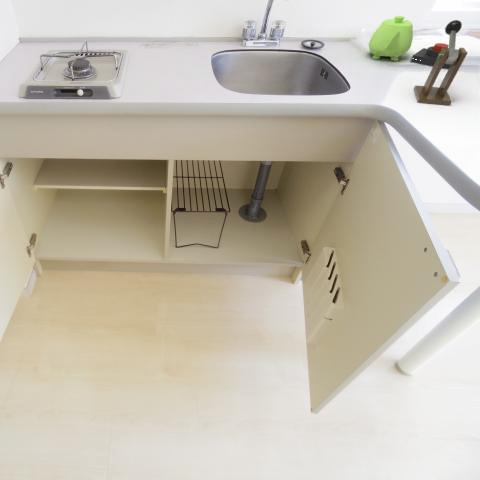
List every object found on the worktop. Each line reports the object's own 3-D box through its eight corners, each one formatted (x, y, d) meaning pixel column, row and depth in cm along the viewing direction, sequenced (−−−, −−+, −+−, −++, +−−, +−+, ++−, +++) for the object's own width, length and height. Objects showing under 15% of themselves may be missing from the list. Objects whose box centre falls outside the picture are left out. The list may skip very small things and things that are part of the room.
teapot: (406, 67, 119) (424, 25, 110) (364, 63, 124) (378, 22, 115) (404, 49, 132) (420, 10, 123) (366, 46, 136) (378, 8, 127)
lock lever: (442, 28, 100) (449, 16, 97) (457, 29, 99) (465, 17, 96) (439, 65, 96) (446, 54, 93) (454, 66, 95) (462, 55, 92)
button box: (457, 61, 121) (464, 48, 118) (448, 69, 116) (455, 56, 113) (420, 54, 127) (425, 42, 124) (410, 61, 122) (415, 49, 120)
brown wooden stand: (413, 89, 106) (434, 43, 97) (443, 91, 104) (468, 44, 95) (417, 102, 100) (440, 54, 91) (449, 105, 97) (477, 56, 88)
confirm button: (447, 50, 119) (450, 44, 118) (443, 53, 117) (446, 47, 116) (434, 48, 121) (437, 42, 120) (430, 50, 119) (433, 45, 118)
